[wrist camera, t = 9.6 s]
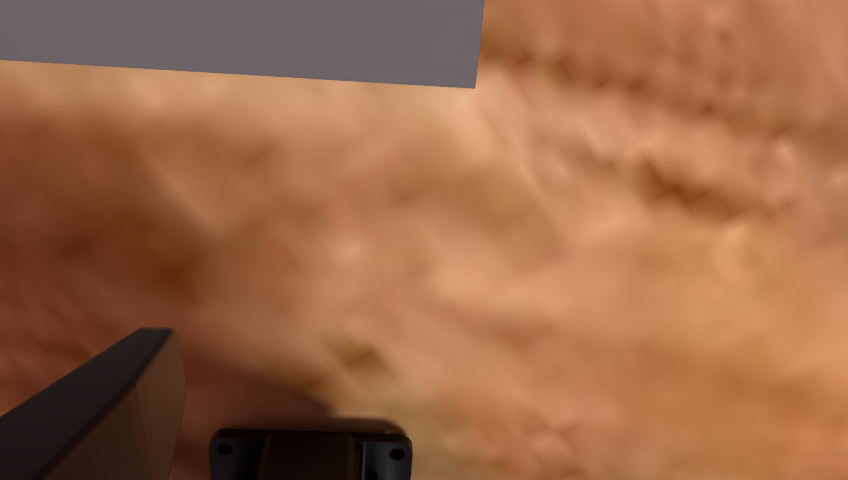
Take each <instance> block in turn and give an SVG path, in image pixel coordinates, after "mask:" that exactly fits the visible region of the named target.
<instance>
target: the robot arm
mask: <svg viewBox="0 0 848 480" xmlns="http://www.w3.org/2000/svg"><path fill="white" fill-rule="evenodd" d="M185 398H186V383H185V376H184V369H183V362H182V355H181V349H180V342H179V337H178V334H177V332H176V331H175V330H174V329H173V328H139V329H138V330H136V331H134V332H133V333H131V334H129V335H128V336H126V337H125V338H123V339H122V340H120V341H118V342H117V343H115V344H114V345H112V346H111V347H109V348H107V349H106V350H104V351H103V352H101V353H100V354H98V355H96V356H95V357H93V358H92V359H90V360H89V361H87V362H85V363H84V364H82V365H81V366H79V367H78V368H76V369H74V370H73V371H71V372H70V373H68V374H67V375H65V376H63V377H62V378H60V379H59V380H57V381H56V382H54V383H53V384H51V385H49V386H48V387H46V388H45V389H43V390H42V391H40V392H38V393H37V394H35V395H34V396H32V397H31V398H29V399H27V400H26V401H24V402H23V403H21V404H20V405H18V406H16V407H15V408H13V409H12V410H10V411H9V412H7V413H5V414H4V415H2V416H1V417H0V480H168V478H169V474H170V469H171V465H172V460H173V456H174V451H175V446H176V442H177V437H178V433H179V428H180V423H181V419H182V414H183V410H184V405H185ZM223 443H225V444H229V445H230V446H229V447H227V446H223V445H222V444H223ZM397 448H398V449H402V450H401V451H397V452H396V451H393V449H397ZM209 456H210V468H211V480H410V478H411V466H412V442H411V440H410V439H409V438H408V437H406V436H404V435H401V434H381V433H349V432H316V431H283V430H250V429H221V430H218V431H216V432H215V433H214V434H213V436H212V439H211V442H210V446H209Z"/></svg>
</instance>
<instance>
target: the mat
mask: <svg viewBox="0 0 848 480" xmlns="http://www.w3.org/2000/svg"><path fill="white" fill-rule="evenodd" d="M483 9H484V0H0V60H11V61H28V62H44V63H61V64H77V65H94V66H110V67H127V68H143V69H160V70H176V71H193V72H209V73H226V74H242V75H259V76H275V77H292V78H308V79H325V80H341V81H358V82H374V83H391V84H407V85H424V86H440V87H457V88H473V89H475V85H476V75H477V66H478V56H479V47H480V38H481V28H482V19H483Z"/></svg>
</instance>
